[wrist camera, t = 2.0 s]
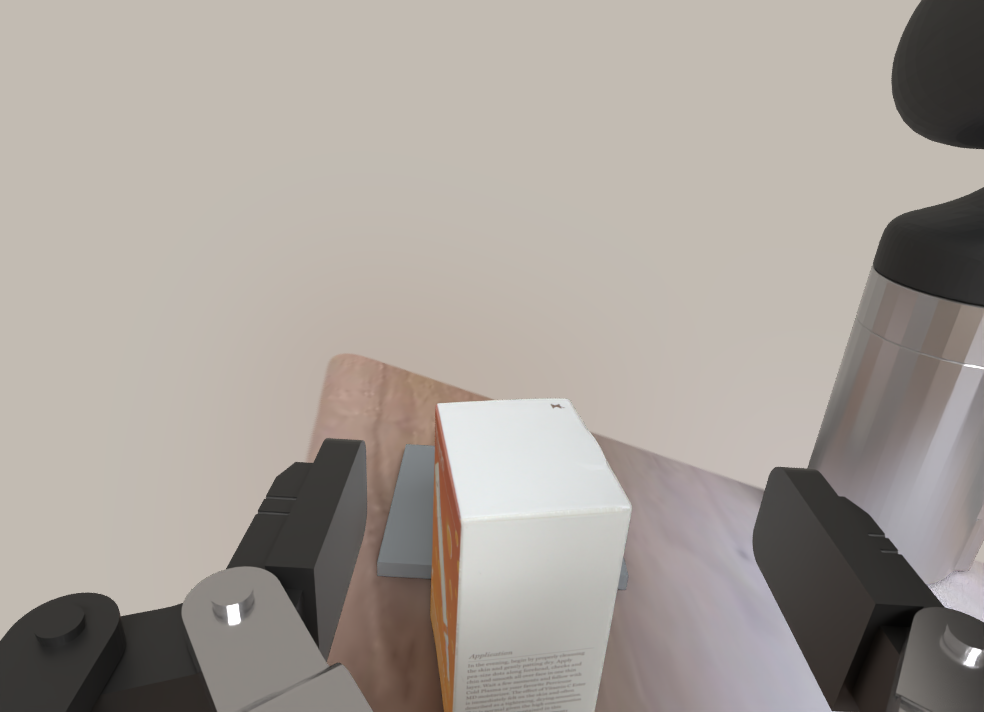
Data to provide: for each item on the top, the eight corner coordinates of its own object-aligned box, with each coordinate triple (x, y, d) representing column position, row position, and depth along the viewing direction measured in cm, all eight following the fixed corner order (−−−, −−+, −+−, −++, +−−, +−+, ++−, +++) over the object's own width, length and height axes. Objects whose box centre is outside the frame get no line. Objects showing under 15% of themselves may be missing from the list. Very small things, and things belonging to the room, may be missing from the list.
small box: (427, 616, 34) (433, 398, 28) (544, 605, 35) (571, 394, 30) (446, 770, 27) (458, 518, 21) (592, 748, 28) (639, 505, 22)
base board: (597, 467, 47) (599, 454, 47) (625, 589, 37) (628, 575, 36) (406, 455, 47) (406, 443, 47) (377, 575, 36) (377, 561, 36)
